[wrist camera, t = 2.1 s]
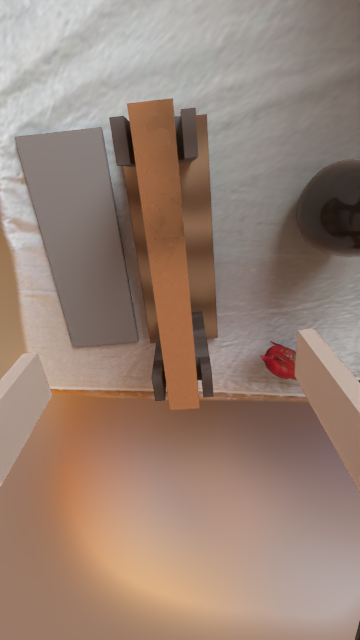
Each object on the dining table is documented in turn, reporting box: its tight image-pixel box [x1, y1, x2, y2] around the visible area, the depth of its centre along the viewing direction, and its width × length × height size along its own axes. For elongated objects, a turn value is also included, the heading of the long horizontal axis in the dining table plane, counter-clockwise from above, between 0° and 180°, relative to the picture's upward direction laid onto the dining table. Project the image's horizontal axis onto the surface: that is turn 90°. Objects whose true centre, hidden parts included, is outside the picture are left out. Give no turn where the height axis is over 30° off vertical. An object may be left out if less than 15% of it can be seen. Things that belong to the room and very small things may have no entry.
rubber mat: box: [15, 127, 139, 347], centre depth 42 cm, size 28×10×1 cm, turn 5°
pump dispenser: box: [297, 159, 360, 257], centre depth 33 cm, size 10×10×15 cm
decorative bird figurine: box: [260, 341, 297, 380], centre depth 45 cm, size 3×18×10 cm, turn 59°
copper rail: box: [127, 98, 200, 410], centre depth 28 cm, size 26×3×4 cm, turn 5°
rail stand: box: [109, 108, 218, 401], centre depth 34 cm, size 28×10×16 cm, turn 5°
